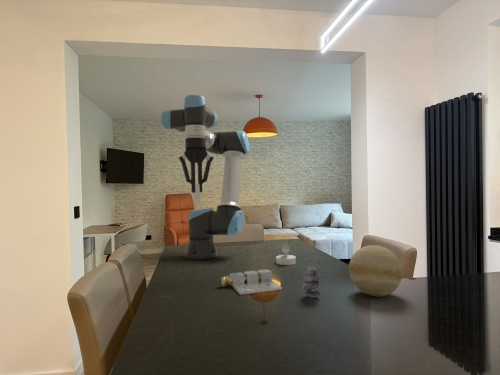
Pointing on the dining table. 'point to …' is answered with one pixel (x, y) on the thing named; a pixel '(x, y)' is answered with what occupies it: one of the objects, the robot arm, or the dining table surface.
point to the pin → (229, 280)
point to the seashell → (311, 282)
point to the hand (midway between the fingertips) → (197, 201)
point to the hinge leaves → (253, 282)
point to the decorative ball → (375, 270)
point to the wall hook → (285, 256)
